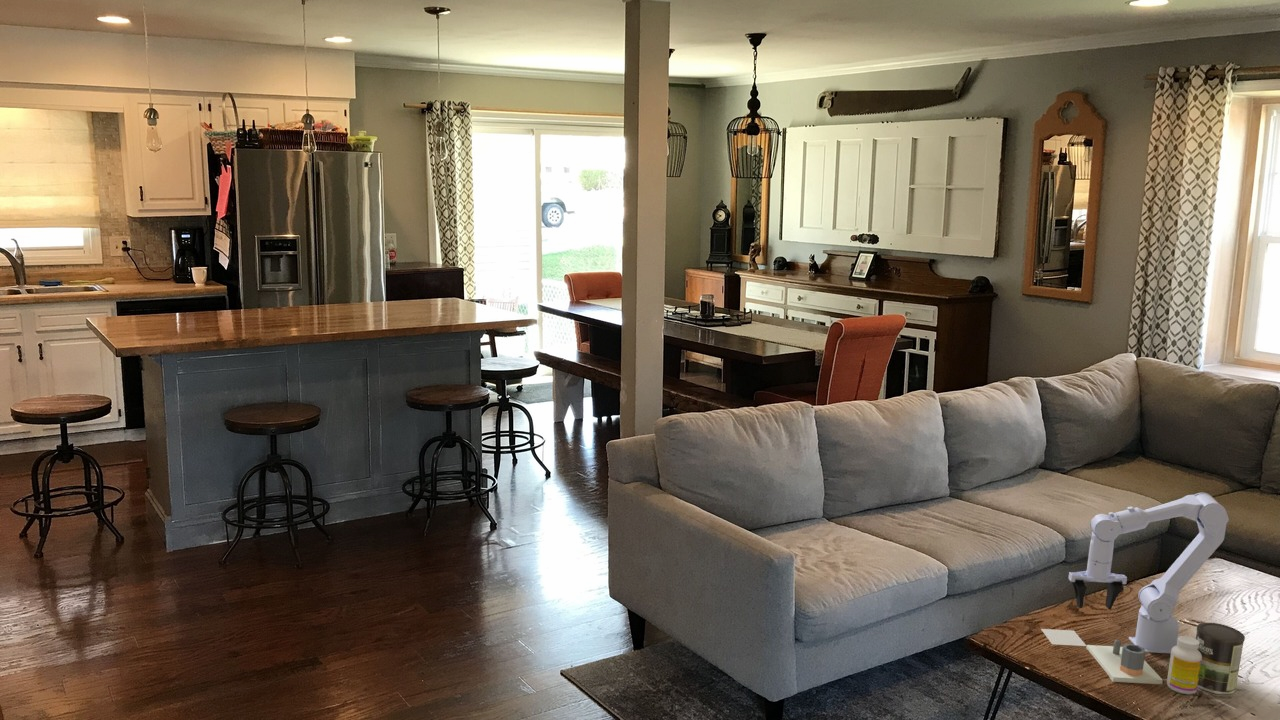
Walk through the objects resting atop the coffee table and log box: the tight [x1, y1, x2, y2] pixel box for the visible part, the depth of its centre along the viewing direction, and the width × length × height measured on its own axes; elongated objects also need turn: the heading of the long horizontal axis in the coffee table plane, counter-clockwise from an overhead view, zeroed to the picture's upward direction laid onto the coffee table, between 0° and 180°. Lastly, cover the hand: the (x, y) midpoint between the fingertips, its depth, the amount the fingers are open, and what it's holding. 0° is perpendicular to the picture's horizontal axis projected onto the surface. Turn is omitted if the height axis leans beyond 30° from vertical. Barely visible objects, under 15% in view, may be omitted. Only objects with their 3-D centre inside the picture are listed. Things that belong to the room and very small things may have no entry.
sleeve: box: [1120, 643, 1146, 676], centre depth 250 cm, size 5×5×6 cm
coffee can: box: [1195, 622, 1246, 696], centre depth 246 cm, size 10×10×14 cm
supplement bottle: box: [1166, 635, 1202, 695], centre depth 243 cm, size 7×7×13 cm
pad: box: [1040, 628, 1087, 647], centre depth 269 cm, size 9×9×1 cm
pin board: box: [1085, 639, 1163, 685], centre depth 254 cm, size 12×17×5 cm
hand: (1093, 607), depth 267 cm, fingers open, 7 cm apart
